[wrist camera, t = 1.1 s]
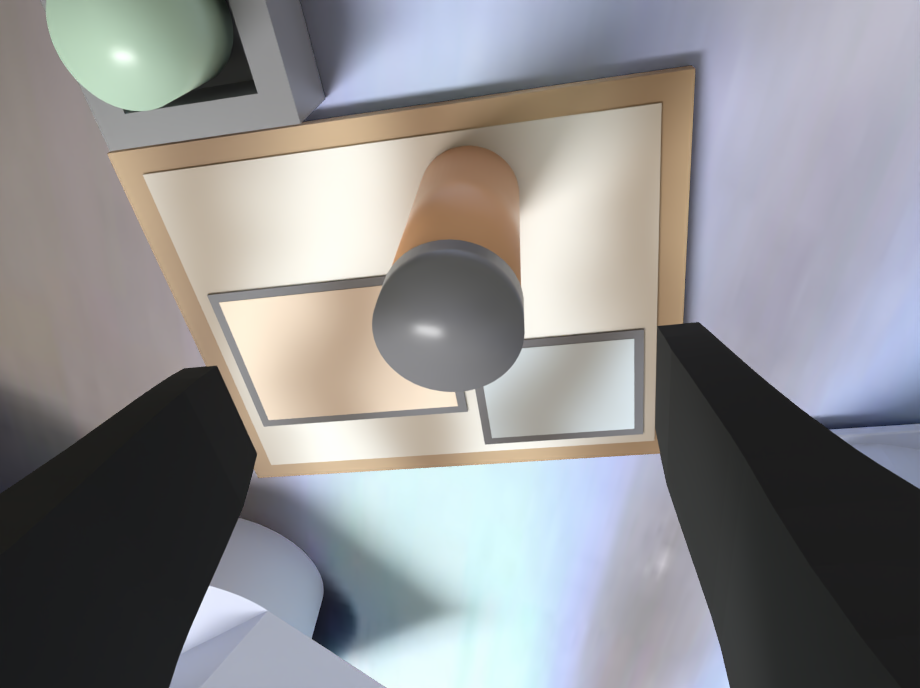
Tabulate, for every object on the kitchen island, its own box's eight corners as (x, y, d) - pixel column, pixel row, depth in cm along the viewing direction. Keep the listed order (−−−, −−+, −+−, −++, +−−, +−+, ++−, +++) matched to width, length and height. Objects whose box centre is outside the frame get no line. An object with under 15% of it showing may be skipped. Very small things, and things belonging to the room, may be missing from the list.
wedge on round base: (419, 633, 31) (211, 482, 26) (399, 788, 26) (130, 636, 21) (298, 683, 35) (94, 560, 30) (257, 829, 29) (-1, 709, 24)
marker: (515, 137, 17) (516, 255, 11) (526, 237, 18) (531, 386, 13) (408, 151, 17) (355, 273, 11) (428, 248, 19) (389, 397, 13)
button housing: (265, -131, 14) (225, -138, 12) (325, 98, 17) (300, 123, 15) (66, -90, 15) (-2, -90, 13) (154, 124, 18) (109, 151, 16)
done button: (206, -63, 14) (153, -58, 12) (250, 76, 15) (210, 100, 13) (88, -39, 14) (18, -31, 12) (143, 93, 15) (88, 120, 13)
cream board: (691, 65, 16) (696, 69, 15) (674, 444, 23) (677, 455, 23) (114, 149, 18) (104, 154, 18) (261, 470, 25) (257, 480, 25)
